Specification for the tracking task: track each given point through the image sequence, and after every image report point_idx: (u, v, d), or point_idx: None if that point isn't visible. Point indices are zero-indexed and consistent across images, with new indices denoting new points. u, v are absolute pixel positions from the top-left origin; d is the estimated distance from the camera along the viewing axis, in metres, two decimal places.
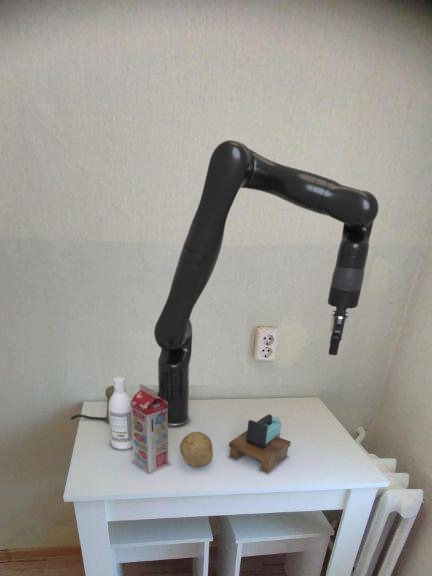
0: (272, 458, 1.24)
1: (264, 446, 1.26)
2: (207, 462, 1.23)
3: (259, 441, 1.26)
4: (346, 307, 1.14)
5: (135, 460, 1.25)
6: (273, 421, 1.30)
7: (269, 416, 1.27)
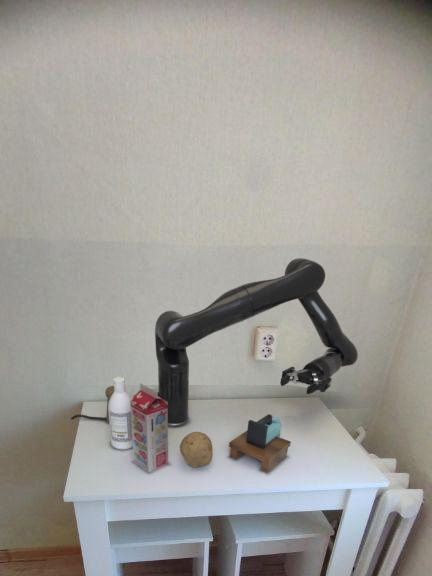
0: (272, 458, 1.24)
1: (264, 446, 1.26)
2: (207, 462, 1.23)
3: (259, 441, 1.26)
4: None
5: (135, 460, 1.25)
6: (273, 421, 1.30)
7: (269, 416, 1.27)
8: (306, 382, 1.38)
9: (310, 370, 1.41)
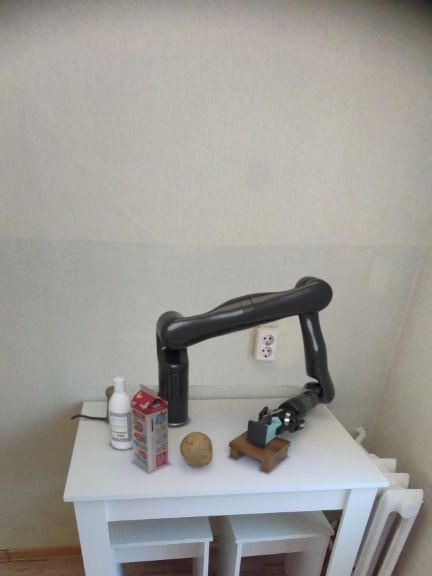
0: (272, 458, 1.24)
1: (264, 446, 1.26)
2: (207, 462, 1.23)
3: (259, 441, 1.26)
4: None
5: (135, 460, 1.25)
6: (273, 421, 1.30)
7: (269, 416, 1.27)
8: (281, 422, 1.35)
9: (285, 409, 1.38)
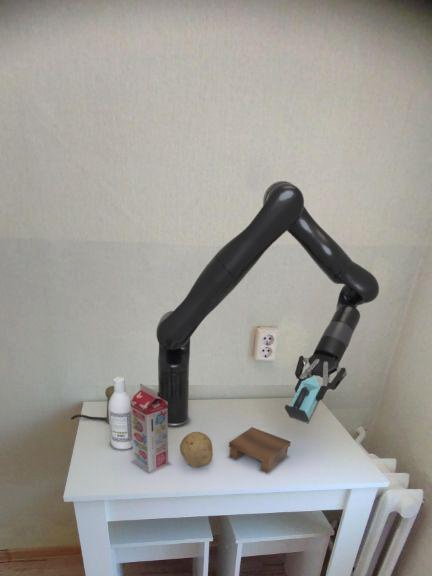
0: (272, 458, 1.24)
1: (308, 421, 1.25)
2: (207, 462, 1.23)
3: (301, 419, 1.25)
4: (339, 361, 1.25)
5: (135, 460, 1.25)
6: (311, 387, 1.24)
7: (304, 392, 1.21)
8: (320, 376, 1.26)
9: (322, 355, 1.25)
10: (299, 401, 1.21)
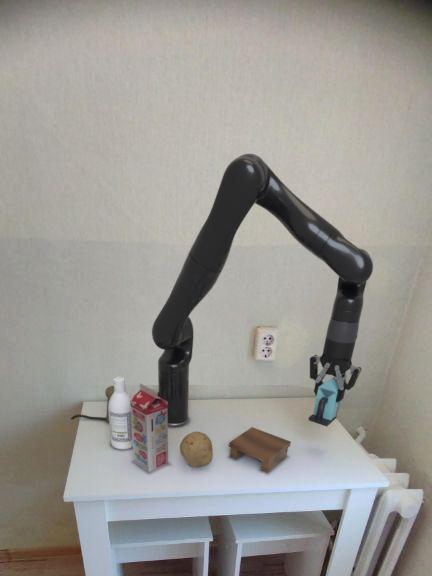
0: (272, 458, 1.24)
1: (335, 417, 1.30)
2: (207, 462, 1.23)
3: None
4: None
5: (135, 460, 1.25)
6: (328, 392, 1.24)
7: (322, 405, 1.24)
8: None
9: None
10: (320, 415, 1.26)
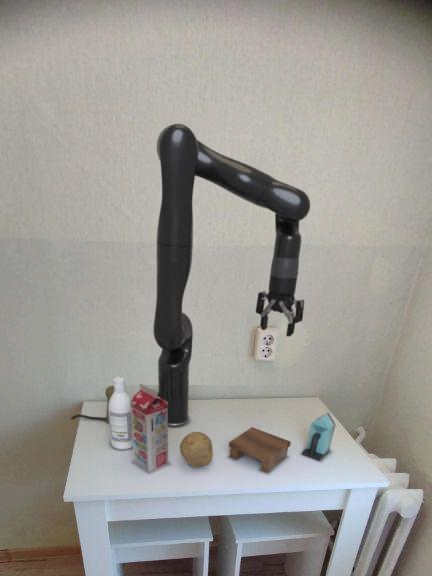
0: (272, 458, 1.24)
1: (328, 451, 1.36)
2: (207, 462, 1.23)
3: None
4: (294, 292, 1.29)
5: (135, 460, 1.25)
6: (321, 429, 1.30)
7: (315, 441, 1.30)
8: None
9: None
10: (313, 450, 1.32)
